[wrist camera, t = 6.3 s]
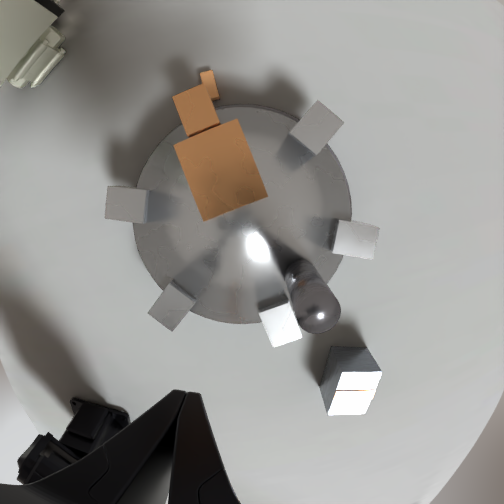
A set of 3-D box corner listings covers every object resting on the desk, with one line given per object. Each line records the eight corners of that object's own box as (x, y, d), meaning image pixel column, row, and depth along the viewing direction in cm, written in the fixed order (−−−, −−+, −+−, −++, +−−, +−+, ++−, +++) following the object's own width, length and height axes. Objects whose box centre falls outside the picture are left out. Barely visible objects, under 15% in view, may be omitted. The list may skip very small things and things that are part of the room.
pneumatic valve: (108, 22, 15) (24, -55, 4) (14, 130, 17) (-94, 121, 6) (81, -3, 15) (7, -66, 3) (-4, 95, 16) (-97, 79, 5)
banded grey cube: (352, 386, 22) (365, 414, 19) (319, 386, 22) (327, 416, 19) (366, 347, 21) (382, 372, 18) (330, 345, 21) (342, 373, 18)
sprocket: (403, 208, 17) (470, 224, 11) (244, 365, 20) (240, 438, 13) (240, 51, 15) (233, -11, 8) (87, 229, 18) (20, 253, 11)
